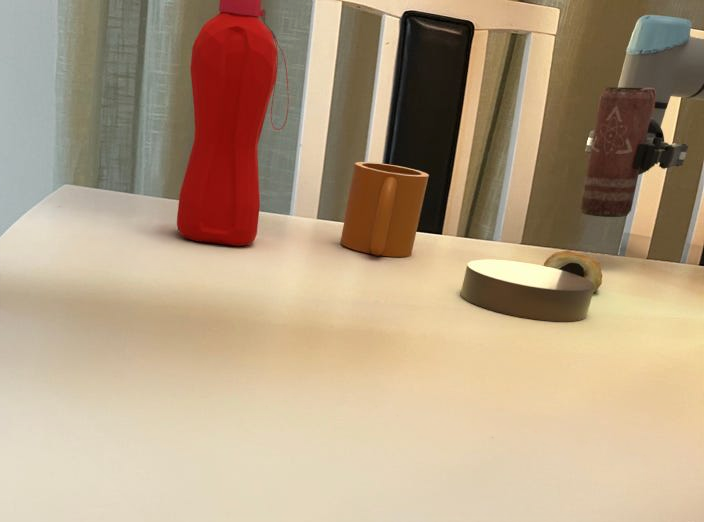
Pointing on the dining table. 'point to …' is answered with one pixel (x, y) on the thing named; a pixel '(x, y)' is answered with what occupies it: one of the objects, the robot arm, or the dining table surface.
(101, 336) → the dining table surface
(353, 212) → the mug
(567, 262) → the pastry
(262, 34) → the water bottle
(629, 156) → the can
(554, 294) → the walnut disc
